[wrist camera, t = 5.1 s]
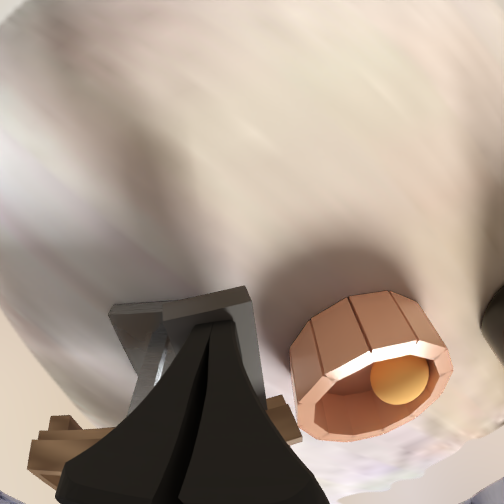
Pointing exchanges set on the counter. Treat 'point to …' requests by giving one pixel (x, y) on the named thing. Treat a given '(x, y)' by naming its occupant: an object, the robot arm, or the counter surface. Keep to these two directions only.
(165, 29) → the counter surface
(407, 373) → the ball
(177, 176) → the counter surface
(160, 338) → the trough stand
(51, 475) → the brown tray
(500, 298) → the supplement bottle
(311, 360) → the cup
